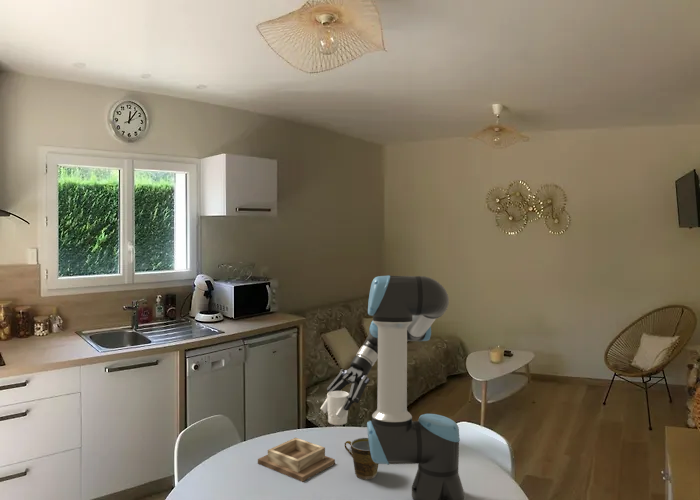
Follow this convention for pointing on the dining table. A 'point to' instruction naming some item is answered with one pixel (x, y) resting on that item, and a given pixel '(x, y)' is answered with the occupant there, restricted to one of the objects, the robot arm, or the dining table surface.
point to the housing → (297, 459)
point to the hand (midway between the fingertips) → (330, 413)
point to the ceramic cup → (362, 458)
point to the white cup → (336, 406)
